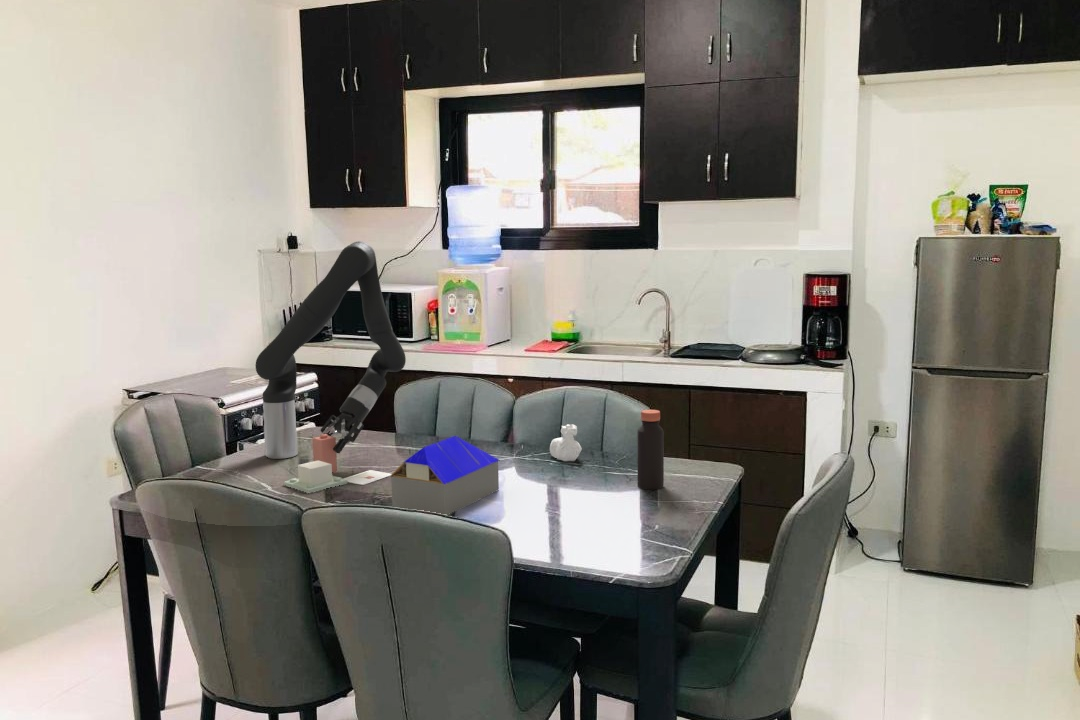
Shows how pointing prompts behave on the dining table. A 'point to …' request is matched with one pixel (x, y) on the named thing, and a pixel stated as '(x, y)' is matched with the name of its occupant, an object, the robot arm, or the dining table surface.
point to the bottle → (650, 451)
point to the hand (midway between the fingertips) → (327, 449)
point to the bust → (566, 444)
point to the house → (444, 477)
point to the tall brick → (325, 450)
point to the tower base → (314, 487)
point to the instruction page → (367, 477)
